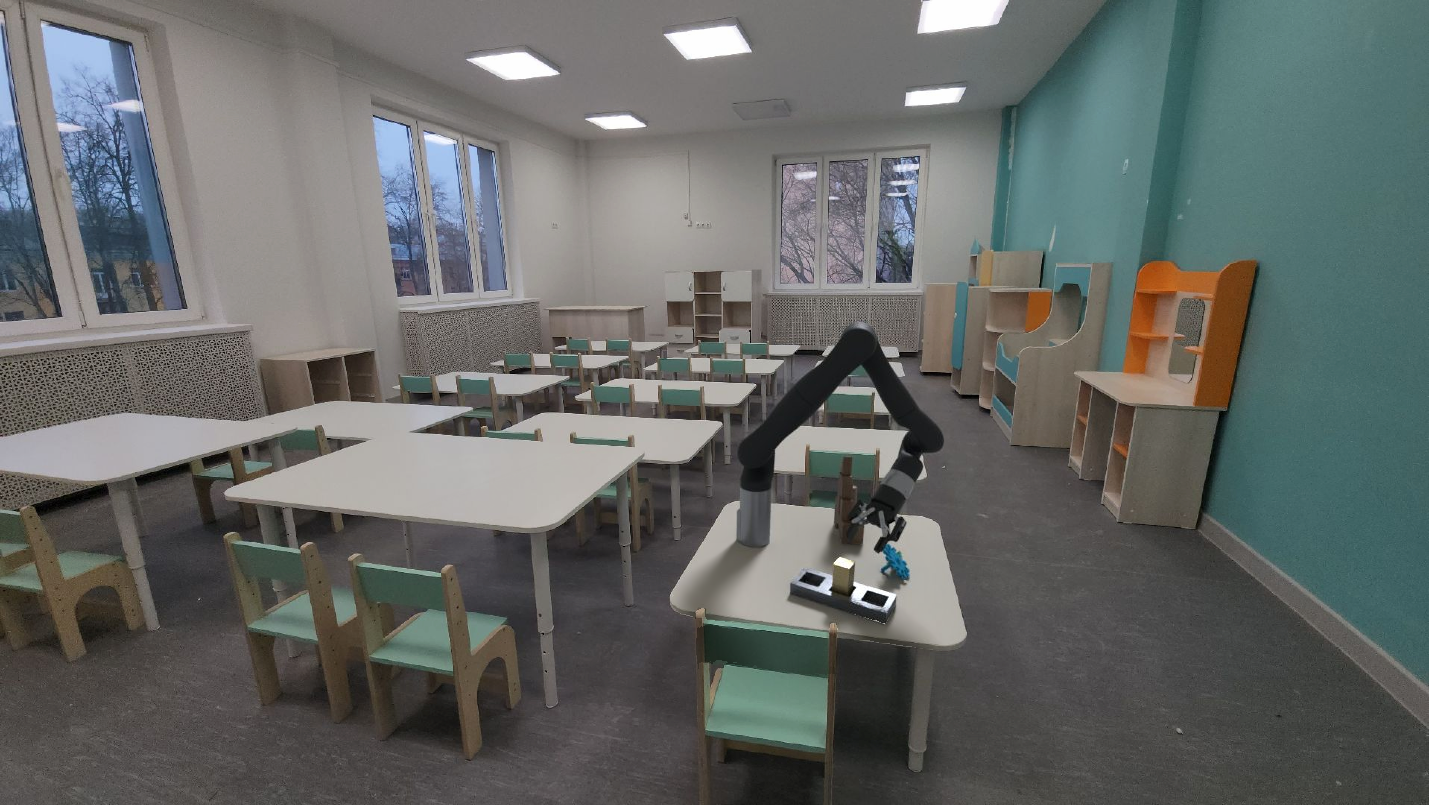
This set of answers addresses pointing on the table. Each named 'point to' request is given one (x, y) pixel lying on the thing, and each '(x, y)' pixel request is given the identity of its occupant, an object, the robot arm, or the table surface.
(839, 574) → the brass post
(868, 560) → the table surface
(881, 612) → the grey flat frame block
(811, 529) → the table surface
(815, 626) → the table surface
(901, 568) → the gear
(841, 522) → the wooden toy
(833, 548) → the table surface
